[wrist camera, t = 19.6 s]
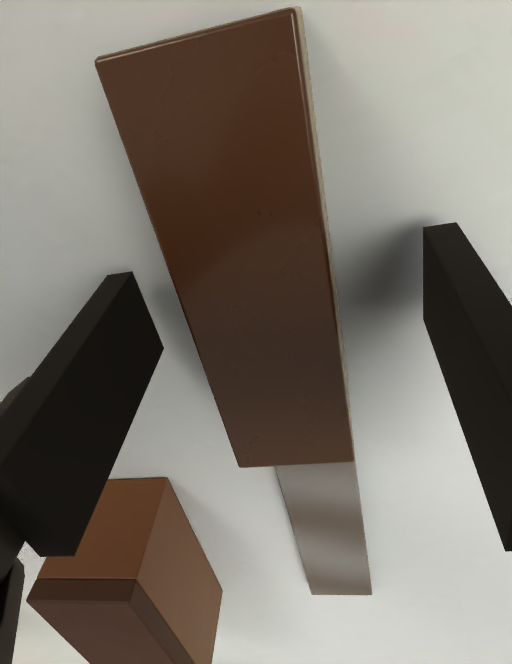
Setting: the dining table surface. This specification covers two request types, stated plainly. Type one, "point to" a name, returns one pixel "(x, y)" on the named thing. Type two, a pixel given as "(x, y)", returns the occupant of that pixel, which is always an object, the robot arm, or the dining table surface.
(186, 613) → the cake slice
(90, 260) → the dining table surface
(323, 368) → the knife
